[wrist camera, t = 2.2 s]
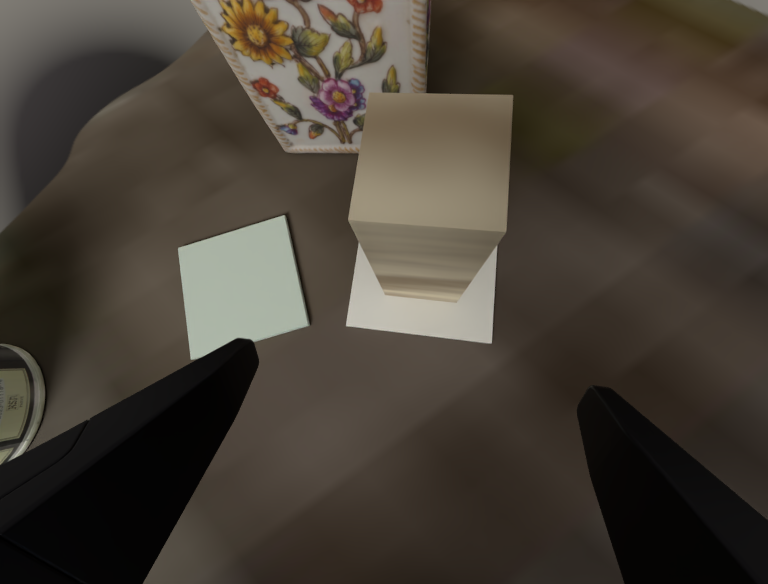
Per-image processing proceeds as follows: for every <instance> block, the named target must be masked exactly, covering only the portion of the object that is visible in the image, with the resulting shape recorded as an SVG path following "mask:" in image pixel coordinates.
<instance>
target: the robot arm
mask: <svg viewBox="0 0 768 584" xmlns="http://www.w3.org/2000/svg"><path fill="white" fill-rule="evenodd" d="M258 365H259V358H258V355H257V351H256V348H255V344H254V342H253V341H252V340H251V339H246V338H236V339H234V340H232V341H230V342H228V343H227V344H225V345H223V346H221V347H219V348H218V349H216V350H214V351H212V352H210V353H208V354H207V355H205V356H203V357H201V358H199V359H197V360H196V361H194V362H192V363H190V364H188V365H186V366H185V367H183V368H181V369H179V370H177V371H175V372H174V373H172V374H170V375H168V376H166V377H165V378H163V379H161V380H159V381H157V382H155V383H154V384H152V385H150V386H148V387H146V388H144V389H143V390H141V391H139V392H137V393H135V394H133V395H132V396H130V397H128V398H126V399H124V400H122V401H121V402H119V403H117V404H115V405H113V406H111V407H110V408H108V409H106V410H104V411H102V412H101V413H99V414H97V415H95V416H93V417H92V418H90V420H86V421H84V422H82V423H80V424H78V425H77V426H75V427H73V428H71V429H69V430H68V431H66V432H64V433H62V434H60V435H58V436H56V437H54V438H52V439H51V440H49V441H47V442H45V443H43V444H41V445H39V446H37V447H36V448H34V449H32V450H30V451H28V452H26V453H24V454H22V455H20V456H18V457H16V458H14V459H12V460H10V461H8V462H6V463H4V464H2V465H0V584H143V582H144V580H145V579H146V577H147V575H148V573H149V571H150V570H151V568H152V566H153V564H154V562H155V561H156V559H157V557H158V555H159V554H160V552H161V550H162V548H163V546H164V545H165V543H166V541H167V539H168V538H169V536H170V534H171V532H172V530H173V529H174V527H175V525H176V523H177V522H178V520H179V518H180V516H181V514H182V513H183V511H184V509H185V507H186V505H187V504H188V502H189V500H190V498H191V497H192V495H193V493H194V491H195V489H196V488H197V486H198V484H199V482H200V481H201V479H202V477H203V475H204V473H205V472H206V470H207V468H208V466H209V465H210V463H211V461H212V459H213V457H214V456H215V454H216V452H217V450H218V448H219V447H220V445H221V443H222V441H223V440H224V438H225V436H226V434H227V432H228V431H229V429H230V427H231V425H232V423H233V422H234V420H235V418H236V416H237V414H238V412H239V410H240V407H241V405H242V403H243V401H244V398H245V396H246V394H247V391H248V389H249V387H250V385H251V382H252V380H253V378H254V375H255V373H256V371H257V368H258ZM577 416H578V421H579V426H580V431H581V436H582V440H583V445H584V450H585V455H586V460H587V464H588V469H589V473H590V477H591V480H592V484H593V487H594V490H595V493H596V496H597V500H598V503H599V506H600V509H601V512H602V515H603V518H604V521H605V524H606V527H607V531H608V534H609V537H610V540H611V543H612V546H613V549H614V552H615V555H616V558H617V562H618V565H619V568H620V571H621V574H622V577H623V580H624V583H625V584H768V520H767V519H766V518H764V517H763V516H762V515H761V514H760V513H758V512H757V511H756V510H755V509H754V508H752V507H751V506H750V505H749V504H748V503H747V502H745V501H744V500H743V499H742V498H741V497H739V496H738V495H737V494H736V493H735V492H734V491H732V490H731V489H730V488H729V487H728V486H726V485H725V484H724V483H723V482H722V481H720V480H719V479H718V478H717V477H716V476H715V475H713V474H712V473H711V472H710V471H709V470H707V469H706V468H705V467H704V466H703V465H701V464H700V463H699V462H698V461H697V460H696V459H694V458H693V457H692V456H691V455H690V454H688V453H687V452H686V451H685V450H684V449H683V448H681V447H680V446H679V445H678V444H677V443H675V442H674V441H673V440H672V439H671V438H669V437H668V436H667V435H666V434H665V433H664V432H662V431H661V430H660V429H659V428H658V427H656V426H655V425H654V424H653V423H652V422H651V421H649V420H648V419H647V418H646V417H645V416H643V415H642V414H641V413H640V412H639V411H637V410H636V409H635V408H634V407H633V406H632V405H630V404H629V403H628V402H627V401H626V400H624V399H623V398H622V397H621V396H620V395H618V394H617V393H616V392H615V391H614V390H612V389H611V388H609V387H603V386H596V385H591V386H590V387H588V389H587V390H586V392H585V394H584V396H583V397H582V399H581V401H580V402H579V404H578V407H577Z"/></svg>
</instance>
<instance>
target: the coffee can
mask: <svg viewBox="0 0 768 584" xmlns="http://www.w3.org/2000/svg"><path fill="white" fill-rule="evenodd" d="M44 404H45V384H44V378H43V375H42V372H41V369H40V367H39V366H38V364H37V362H36V361H35V359H34V358H33V357H32V356H31V355H30V354H29V353H28V352H26V351H25V350H23V349H21V348H19V347H17V346H13V345H9V344H0V465H2V464H4V463H6V462H8V461H10V460H12V459H14V458H16V457H18V456H20V455H22V454H23V453H24V452H25V451H26V449H27V448H28V446H29V445H30V443H31V441H32V440H33V438H34V436H35V434H36V432H37V430H38V428H39V425H40V422H41V420H42V415H43V410H44Z"/></svg>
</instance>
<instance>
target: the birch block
mask: <svg viewBox="0 0 768 584" xmlns="http://www.w3.org/2000/svg"><path fill="white" fill-rule="evenodd" d="M512 111H513V95H486V94H429V93H373V92H369V96H368V102H367V108H366V114H365V120H364V126H363V132H362V139H361V145H360V151H359V157H358V163H357V169H356V175H355V181H354V187H353V193H352V199H351V205H350V211H349V217H348V221H349V223H350V225H351V227H352V229H353V231H354V233H355V235H356V237H357V239H358V241H359V243H360V245H361V247H362V249H363V251H364V253H365V255H366V257H367V259H368V261H369V263H370V265H371V267H372V269H373V271H374V273H375V276H376V278H377V280H378V282H379V284H380V286H381V288H382V290H383V292H384V294H385V295H388V296H398V297H407V298H417V299H426V300H435V301H445V302H454V303H457V301H458V300H459V299H460V297H461V296H462V294H463V293H464V291H465V290H466V289H467V287H468V286H469V284H470V283H471V282H472V280H473V279H474V277H475V276H476V274H477V273H478V272H479V270H480V269H481V267H482V266H483V264H484V263H485V262H486V260H487V259H488V257H489V256H490V255H491V253H492V252H493V250H494V249H495V247H496V246H497V245H498V243H499V242H500V240H501V239H502V238H503V236H504V235H505V233H506V229H507V209H508V190H509V170H510V150H511V131H512Z"/></svg>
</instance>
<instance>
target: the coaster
mask: <svg viewBox="0 0 768 584" xmlns="http://www.w3.org/2000/svg"><path fill="white" fill-rule="evenodd" d="M178 253H179V261H180V270H181V278H182V287H183V295H184V304H185V313H186V321H187V330H188V338H189V347H190V355H191V359H198V358H201V357H203V356H205V355H207V354H208V353H210V352H212V351H214V350H216V349H218V348H219V347H221V346H223V345H225V344H227V343H228V342H230V341H232V340H234V339H236V338H246V339H251V340H252V341H253V342H256V341H259V340H263V339H266V338H270V337H273V336H276V335H280V334H283V333H287V332H290V331H293V330H297V329H300V328H303V327H307V326H310V323H309V318H308V314H307V309H306V304H305V300H304V295H303V291H302V286H301V281H300V277H299V272H298V268H297V263H296V259H295V254H294V249H293V245H292V240H291V236H290V231H289V226H288V222H287V217H286V216H285V215H283V216H280V217H276V218H273V219H270V220H267V221H264V222H260V223H257V224H254V225H251V226H247V227H244V228H241V229H238V230H235V231H231V232H228V233H225V234H222V235H219V236H215V237H212V238H209V239H206V240H203V241H199V242H196V243H193V244H190V245H187V246H183V247H180V248H178Z"/></svg>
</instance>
